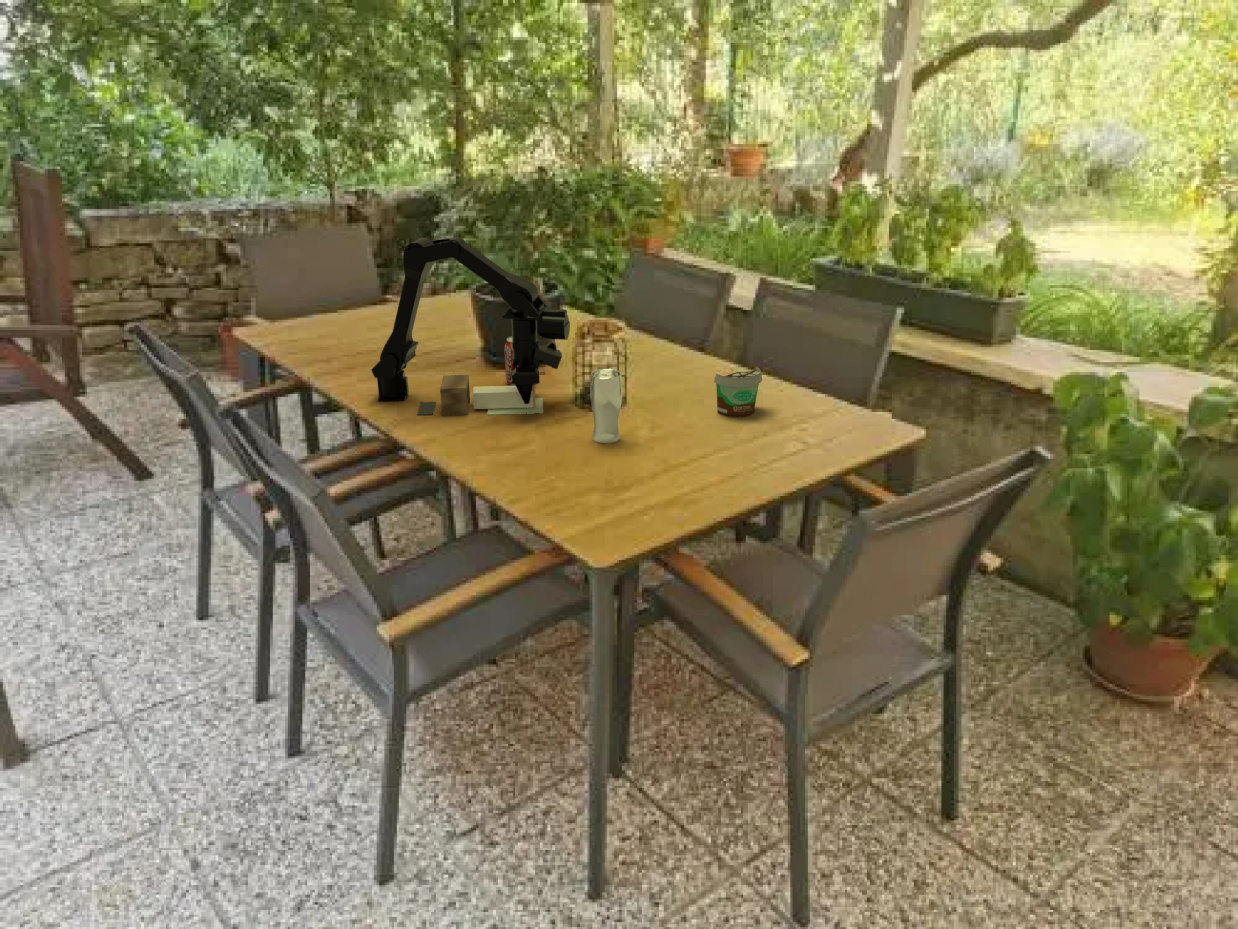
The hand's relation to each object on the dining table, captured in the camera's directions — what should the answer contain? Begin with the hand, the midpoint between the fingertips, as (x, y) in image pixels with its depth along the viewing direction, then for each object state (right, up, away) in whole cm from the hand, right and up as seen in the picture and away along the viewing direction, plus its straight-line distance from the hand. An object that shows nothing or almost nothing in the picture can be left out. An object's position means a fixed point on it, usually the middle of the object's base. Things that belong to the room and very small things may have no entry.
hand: (526, 400), depth 214 cm
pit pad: (-24, -2, -2) cm, 24 cm away
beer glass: (+19, -10, -17) cm, 27 cm away
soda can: (-3, +5, +15) cm, 16 cm away
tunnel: (-17, -2, -1) cm, 17 cm away
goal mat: (-3, -1, 0) cm, 3 cm away
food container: (+51, -4, -3) cm, 51 cm away
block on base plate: (-5, -2, 0) cm, 6 cm away
